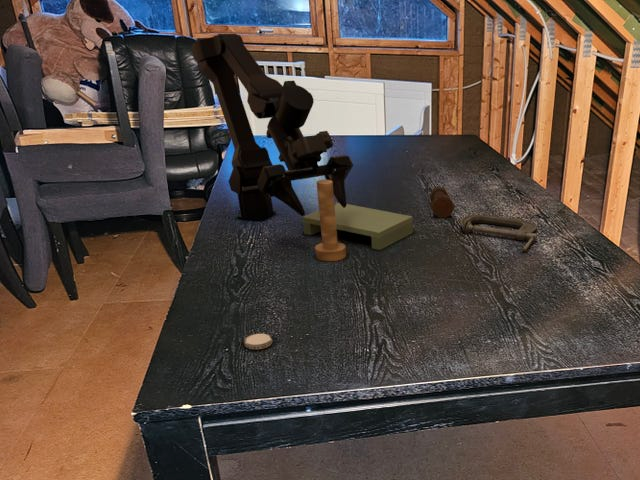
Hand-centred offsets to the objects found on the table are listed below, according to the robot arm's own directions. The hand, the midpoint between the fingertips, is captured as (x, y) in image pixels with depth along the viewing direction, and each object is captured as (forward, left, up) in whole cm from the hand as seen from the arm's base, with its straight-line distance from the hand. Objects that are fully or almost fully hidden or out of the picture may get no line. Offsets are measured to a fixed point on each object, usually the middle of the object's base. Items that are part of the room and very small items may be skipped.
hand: (324, 210), depth 128 cm
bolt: (+14, +37, -9) cm, 41 cm away
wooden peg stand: (+1, -1, -9) cm, 9 cm away
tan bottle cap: (+9, -39, -9) cm, 41 cm away
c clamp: (+31, +22, -9) cm, 39 cm away
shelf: (+1, +14, -9) cm, 17 cm away
